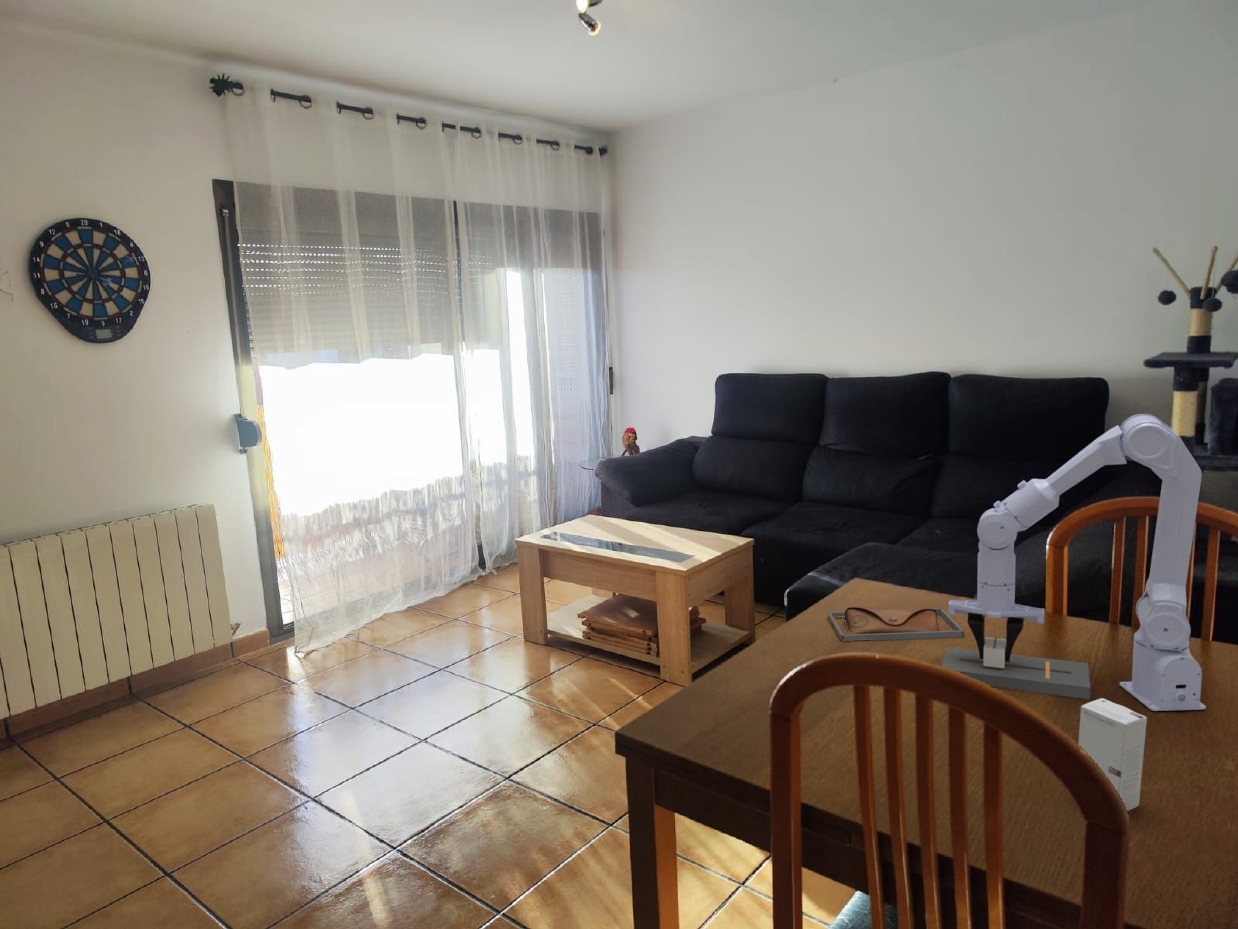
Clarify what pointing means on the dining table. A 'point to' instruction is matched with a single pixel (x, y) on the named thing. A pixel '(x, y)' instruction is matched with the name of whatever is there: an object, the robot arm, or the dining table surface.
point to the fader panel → (1024, 673)
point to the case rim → (902, 636)
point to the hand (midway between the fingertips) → (994, 658)
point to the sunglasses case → (890, 620)
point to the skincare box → (1115, 745)
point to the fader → (994, 652)
